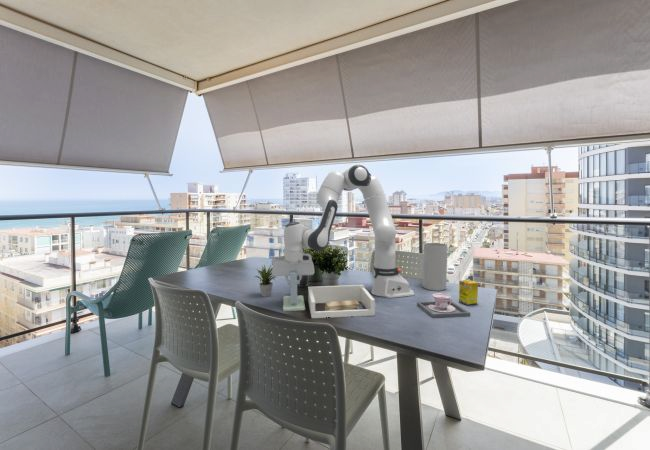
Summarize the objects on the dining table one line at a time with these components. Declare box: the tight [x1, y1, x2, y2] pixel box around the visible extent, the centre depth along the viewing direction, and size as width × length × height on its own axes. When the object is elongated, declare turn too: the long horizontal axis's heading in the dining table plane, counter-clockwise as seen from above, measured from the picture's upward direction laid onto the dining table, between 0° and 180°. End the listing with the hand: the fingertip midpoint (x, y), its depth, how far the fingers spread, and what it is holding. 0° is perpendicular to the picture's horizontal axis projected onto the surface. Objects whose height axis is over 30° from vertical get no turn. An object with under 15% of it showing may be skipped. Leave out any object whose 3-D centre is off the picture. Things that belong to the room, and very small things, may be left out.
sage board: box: [282, 294, 306, 312], centre depth 160 cm, size 10×20×1 cm, turn 7°
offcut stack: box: [324, 300, 361, 311], centre depth 148 cm, size 15×7×4 cm, turn 105°
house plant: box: [254, 264, 278, 297], centre depth 173 cm, size 14×14×16 cm
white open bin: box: [307, 284, 376, 319], centre depth 153 cm, size 28×22×8 cm
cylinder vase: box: [422, 242, 448, 292], centre depth 186 cm, size 12×12×25 cm
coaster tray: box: [416, 300, 471, 319], centre depth 150 cm, size 17×17×2 cm
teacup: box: [427, 292, 457, 313], centre depth 153 cm, size 12×12×6 cm
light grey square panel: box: [289, 271, 298, 303], centre depth 160 cm, size 14×3×14 cm, turn 7°
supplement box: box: [458, 279, 479, 307], centre depth 160 cm, size 6×6×11 cm
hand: (293, 284), depth 160 cm, fingers closed on light grey square panel, 3 cm apart
